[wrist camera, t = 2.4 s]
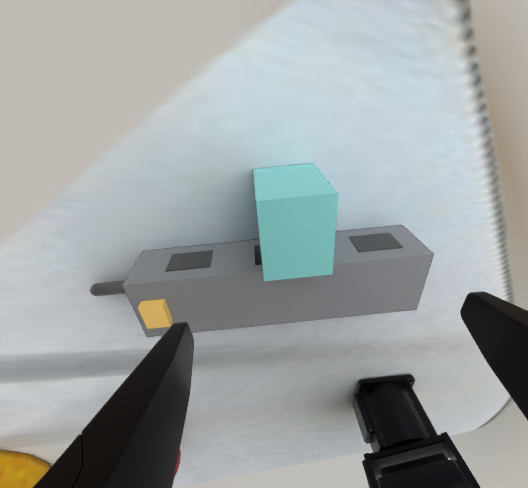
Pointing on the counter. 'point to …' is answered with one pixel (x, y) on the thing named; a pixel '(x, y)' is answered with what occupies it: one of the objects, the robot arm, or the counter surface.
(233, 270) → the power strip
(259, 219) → the block
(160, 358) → the robot arm
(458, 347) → the counter surface
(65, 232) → the counter surface
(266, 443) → the counter surface
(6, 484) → the bucket of meat
